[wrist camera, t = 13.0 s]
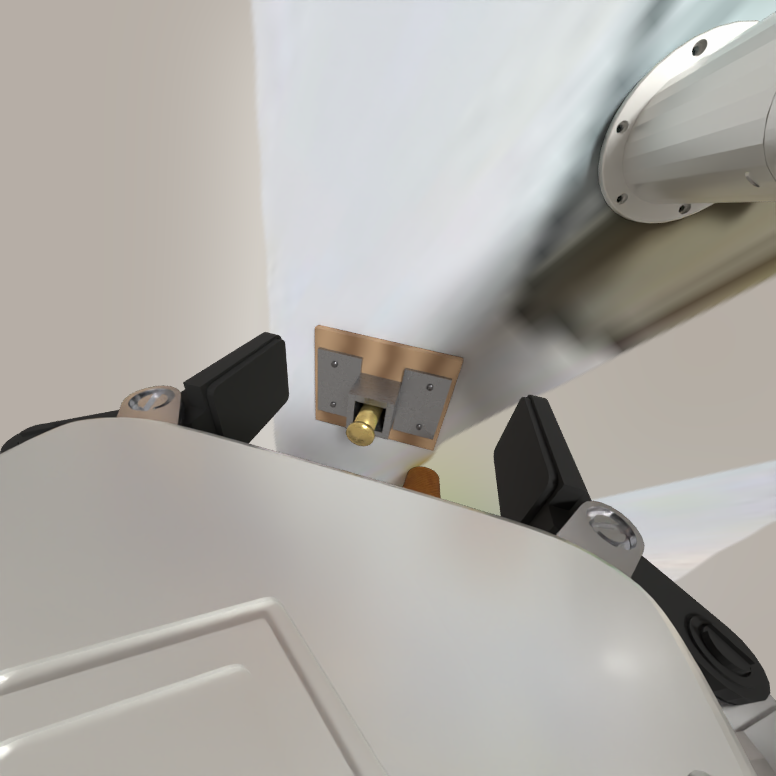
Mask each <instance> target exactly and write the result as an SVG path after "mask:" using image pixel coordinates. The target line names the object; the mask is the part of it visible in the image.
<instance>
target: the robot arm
mask: <svg viewBox="0 0 776 776" xmlns="http://www.w3.org/2000/svg"><path fill="white" fill-rule="evenodd" d="M692 49H695V54H694V56H693V55H692ZM618 126H620V127H621V130H620V132H619V133H617V131H616V129H617V127H618ZM598 171H599V184H600V188H601V192H602V195H603V197H604V199H605V200H606V202H607V204H608V205H609V206H610V207H611V208H612V210H613V211H614V212H615V213H617V214H619V215H620V216H622V217H624V218H625V219H628V220H632V221H635V222H642V223H664V222H669V221H674V220H678V219H681V218H684V217H687V216H690V215H692V214H695V213H697V212H699V211H701V210H703V209H705V208H707V207H709V206H711V205H713V204H714V203H731V202H776V11H775V12H774V13H772V14H771V15H769V16H768V17H766V18H764V19H763V20H761V21H758V20H752V21H736V22H732V23H728V24H725V25H721V26H717V27H714V28H712V29H710V30H708V31H706V32H704V33H702V34H699V35H697V36H695V37H693V38H692V39H690V40H689V41H687V42H686V43H684V44H683V45H681V46H680V47H678V48H677V49H675V50H674V51H672V52H671V53H670V54H668V55H667V56H666V57H665V58H663V59H662V60H661V61H659V62H658V63H657V64H656V65H655V66H654V67H653V68H652V69H651V70H650V71H649V72H648V73H647V74H646V75H645V76H644V77H643V78H642V79H641V80H640V81H639V82H638V83H637V85H636V86H635V87H634V88H633V90H632V91H631V92H630V93H629V94H628V96H627V97H626V98H625V100H624V102H623V103H622V105H621V106H620V108H619V109H618V111H617V113H616V114H615V116H614V118H613V120H612V122H611V124H610V126H609V129H608V131H607V133H606V136H605V139H604V142H603V145H602V148H601V153H600V159H599V166H598ZM618 196H620V197H621V199H620V201H619V202H617V198H618ZM681 206H682V208H681V210H680V211H679V208H680V207H681ZM183 384H184V387H185V390H184V391H182V392H180V391H179V390H178V389H177V388H174V387H172V386H153V387H148V388H144V389H141V390H138V391H136V392H134V393H132V394H130V395H129V396H128V397H126V398H125V399H124V400H123V402H122V403H121V407H120V409H119V410H116V411H110V412H105V413H100V414H94V415H89V416H83V417H78V418H73V419H68V420H62V421H56V422H51V423H46V424H39V425H35V426H32V427H30V428H27V429H25V430H24V431H22V432H20V433H19V434H17V435H15V436H14V437H12V438H11V439H10V440H8V441H7V442H6V443H5V444H4V445H3V447H2V448H1V451H0V776H776V700H775V699H774V698H773V697H772V696H771V695H770V685H769V681H768V679H767V676H766V674H765V672H764V669H763V668H762V666H761V664H760V663H759V661H758V660H757V658H756V657H755V655H754V654H753V653H752V652H751V650H750V649H749V648H748V647H747V646H746V645H745V643H744V642H743V641H742V640H741V639H740V638H739V637H738V636H737V635H736V634H735V633H734V632H732V631H731V630H730V629H729V628H728V627H727V626H726V625H725V624H723V623H722V622H721V621H720V620H719V619H717V618H716V617H715V616H714V615H713V614H711V613H710V612H709V611H708V610H707V609H705V608H704V607H703V606H702V605H701V604H699V603H698V602H697V601H696V600H695V599H693V598H692V597H691V596H690V595H688V594H687V593H686V592H685V591H684V590H683V589H681V588H680V587H679V586H678V585H677V584H675V583H674V582H673V581H672V580H671V579H669V578H668V577H667V576H666V575H665V574H663V573H662V572H661V571H660V570H659V569H657V568H656V567H655V566H654V565H653V564H651V563H650V562H649V561H648V560H647V559H645V558H644V557H643V556H642V554H643V552H644V542H643V539H642V536H641V535H640V533H639V531H638V530H637V528H636V527H635V526H634V525H633V524H632V523H631V521H630V520H629V519H627V518H626V517H625V516H624V515H623V514H621V513H620V512H619V511H617V510H616V509H614V508H612V507H611V506H608V505H606V504H604V503H601V502H596V501H591V498H590V496H589V494H588V492H587V489H586V487H585V484H584V482H583V480H582V478H581V475H580V473H579V471H578V469H577V466H576V464H575V462H574V460H573V457H572V455H571V453H570V450H569V448H568V446H567V443H566V441H565V439H564V437H563V434H562V432H561V430H560V427H559V425H558V423H557V421H556V418H555V416H554V414H553V412H552V409H551V407H550V405H549V402H548V400H547V399H545V398H542V397H537V396H533V395H528V396H527V397H526V398H525V397H522V398H521V399H520V401H519V403H518V405H517V407H516V409H515V411H514V413H513V414H512V416H511V418H510V420H509V422H508V424H507V426H506V428H505V430H504V432H503V434H502V436H501V438H500V440H499V442H498V444H497V446H496V448H495V450H494V464H495V472H496V480H497V489H498V497H499V505H500V512H501V516H498V515H495V514H491V513H488V512H484V511H481V510H478V509H475V508H471V507H468V506H465V505H461V504H458V503H455V502H451V501H448V500H444V499H441V498H437V497H434V496H431V495H427V494H424V493H420V492H417V491H413V490H410V489H406V488H403V487H400V486H396V485H393V484H389V483H386V482H382V481H379V480H375V479H372V478H368V477H365V476H361V475H358V474H354V473H351V472H347V471H344V470H340V469H337V468H333V467H330V466H326V465H323V464H319V463H316V462H312V461H309V460H305V459H302V458H298V457H295V456H291V455H287V454H284V453H280V452H277V451H273V450H269V449H266V448H262V447H259V446H255V445H252V444H249V443H250V441H251V440H252V439H253V438H254V437H255V436H256V435H257V434H258V433H259V432H260V430H261V429H262V428H263V427H264V426H265V425H266V424H267V423H268V422H269V421H270V420H271V418H272V417H273V416H274V415H275V414H276V413H277V412H278V411H279V410H280V409H281V407H282V406H283V405H284V404H285V403H286V402H287V400H288V397H289V388H288V375H287V362H286V349H285V342H284V340H282V339H281V337H280V336H279V335H276V334H271V333H267V332H264V333H262V334H261V335H259V336H257V337H256V338H254V339H252V340H251V341H249V342H248V343H246V344H244V345H243V346H241V347H239V348H238V349H236V350H235V351H233V352H231V353H230V354H228V355H227V356H225V357H223V358H222V359H220V360H219V361H217V362H215V363H214V364H212V365H211V366H209V367H207V368H206V369H204V370H202V371H201V372H199V373H198V374H196V375H194V376H193V377H191V378H190V379H188V380H186V381H185V382H184V383H183Z"/></svg>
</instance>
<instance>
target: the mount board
mask: <svg viewBox="0 0 776 776" xmlns="http://www.w3.org/2000/svg"><path fill="white" fill-rule="evenodd" d="M319 347H322V348H326V349H330V350H334V351H339V352H343V353H347V354H351V355H355V356H360V357H363V362H362V373H366V374H370V375H374V376H378V377H382V378H386V379H390V380H395V381H399V382H402V381H403V376H404V371H405V367H406V368H410V369H414V370H419V371H423V372H427V373H431V374H435V375H440V376H444V377H448V378H452V382H451V386H450V389H449V392H448V395H447V398H446V401H445V404H444V407H443V410H442V413H441V416H440V419H439V422H438V426H437V429H436V432H435V435H434V438H433V440H432V439H428V438H424V437H420V436H417V435H413V434H409V433H405V432H401V431H398V430H394V429H393V425H394V422H393V425H392V428H391V431H390V434H389V437H388V439H392V440H395V441H399V442H403V443H407V444H410V445H414V446H418V447H421V448H425V449H429V450H434V447H435V444H436V441H437V438H438V435H439V432H440V429H441V426H442V423H443V420H444V417H445V414H446V411H447V408H448V405H449V402H450V399H451V396H452V393H453V390H454V387H455V384H456V381H457V378H458V375H459V372H460V369H461V366H462V363H463V358H461V357H457V356H452V355H448V354H444V353H439V352H435V351H431V350H426V349H422V348H417V347H413V346H409V345H404V344H400V343H396V342H391V341H387V340H382V339H378V338H374V337H369V336H365V335H361V334H356V333H352V332H348V331H343V330H339V329H334V328H330V327H326V326H321V325H318V326H316V327H315V392H316V419H317V420H321V421H324V422H328V423H332V424H336V425H339V426H343V427H346V420H347V417H344V416H341V415H337V414H333V413H329V412H325V411H322V410H318V348H319ZM394 420H395V419H394Z"/></svg>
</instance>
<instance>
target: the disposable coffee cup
mask: <svg viewBox="0 0 776 776" xmlns="http://www.w3.org/2000/svg"><path fill="white" fill-rule="evenodd" d="M403 488H406V489H410V490H413V491H417V492H420V493H424V494H427V495H431V496H434V497H437V498H440V484H439V476H438V475H437V473H436V472H435V471H433V470H431V469H429V468H426V467H415V468H412V469H411V470H410V471H409V472H408V474H407V477H406V480H405V482H404V485H403Z"/></svg>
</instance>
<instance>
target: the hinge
mask: <svg viewBox="0 0 776 776" xmlns="http://www.w3.org/2000/svg"><path fill="white" fill-rule="evenodd" d="M362 362H363V357H360V356H355V355H351V354H347V353H343V352H339V351H334V350H330V349H326V348H322V347H319V348H318V410H322V411H325V412H329V413H333V414H337V415H341V416H344V417H347V420H346V428H348V426H349V425H350V424H351V423H352V422H354V421H355V419H356V417H357V415H358V413H359V411H360V409H361V408H362V406H363V404H364V403H365V404H369V405H373V406H377V407H381V408H383V410H382V412H381V415H380V417H379V420H378V422H377V425H376V427H375V429H374V432H375V436H377V437H380V438H384V439H388V437H389V434H390V431H391V428H392V425H393V422H394V425H393V429H394V430H398V431H401V432H405V433H409V434H413V435H417V436H420V437H424V438H428V439H432V440H433V438H434V435H435V432H436V429H437V426H438V422H439V419H440V416H441V413H442V410H443V407H444V404H445V401H446V398H447V395H448V392H449V389H450V386H451V382H452V378H448V377H444V376H440V375H435V374H431V373H427V372H423V371H419V370H414V369H410V368H406V367H405V371H404V376H403V381H402V382H399V381H395V380H390V379H386V378H382V377H378V376H374V375H370V374H366V373H362ZM394 419H395V420H394Z"/></svg>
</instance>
